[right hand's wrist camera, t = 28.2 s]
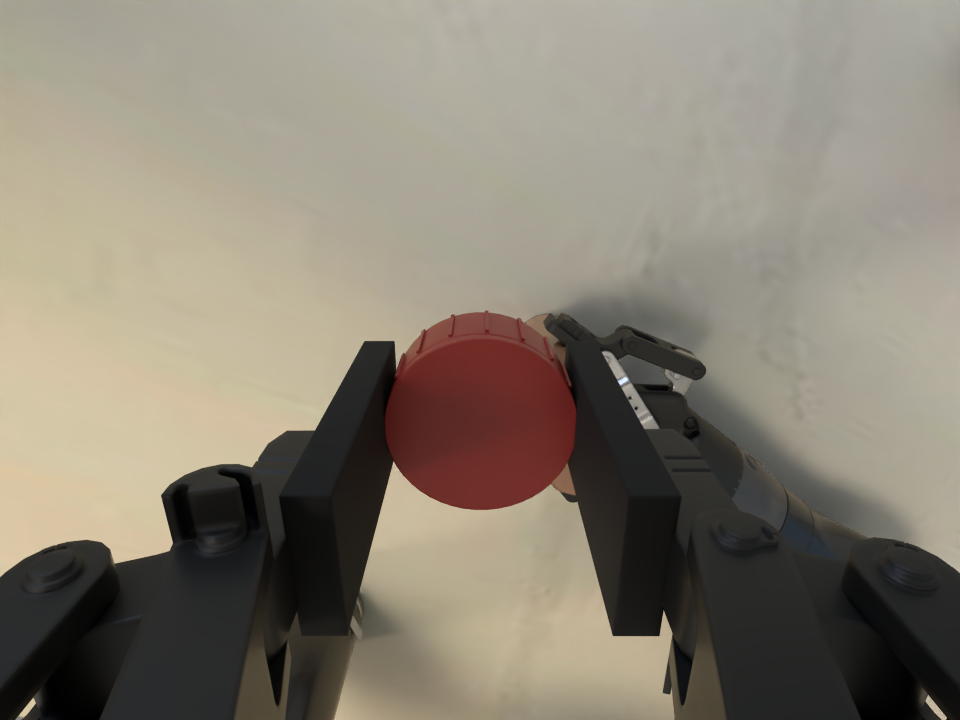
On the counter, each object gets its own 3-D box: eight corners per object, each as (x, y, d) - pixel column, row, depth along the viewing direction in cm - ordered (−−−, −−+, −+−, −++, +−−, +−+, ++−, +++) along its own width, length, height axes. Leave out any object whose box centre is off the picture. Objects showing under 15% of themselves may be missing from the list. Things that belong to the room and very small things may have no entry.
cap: (458, 493, 16) (455, 541, 14) (358, 370, 14) (340, 405, 12) (598, 414, 15) (615, 454, 13) (506, 274, 13) (510, 297, 12)
